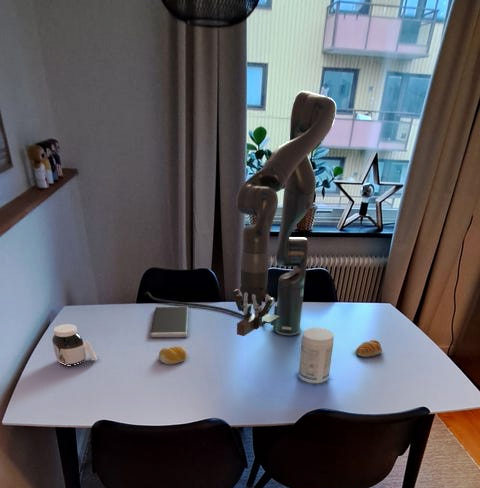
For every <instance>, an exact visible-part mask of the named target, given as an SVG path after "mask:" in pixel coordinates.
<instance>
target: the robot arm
mask: <svg viewBox="0 0 480 488" xmlns="http://www.w3.org/2000/svg"><path fill="white" fill-rule="evenodd" d="M336 115H337V103H336V102H335V101H334V99H332V98H331V97H328V96H325V95H322V94H318V93H314V92H311V91H307V90H301V91H299V92H298V93H297V94H296V95H295V97H294V100H293V102H292V107H291V111H290V118H289V120H290V121H289V138H288V139H289V140H288V141H287V142H285V143H283V144H281V145H280V146H279V147H277V148H276V149H275V150H274V151H273V152H271V154H270V156H269V157H268V158H267V160H266V162H265V163H264V164H263V166H262V167H261V169H259V170H258V171H256V172H255V173H254V174H253V175H252V176H250V177H249V178H248V179H246V181H244V183H243V184H242V185H241V186H240V187H239V189H238V192H237V194H236V198H235V199H236V200H235V202H236V204H235V205H236V207H237V209H238V212H240V213H241V214H244V215H247V216H253V217H257V221H256V224H248V225H246V226H244V227H243V230H242V236H241V237H242V240H241V241H242V243H241V244H242V245H241V254H240V255H241V256H240V284H241V285H240V287H239V288H237V289H234V290H232V292H231V294H232V297H233V300H234V302H235V305H236V307H237V311H235V310H233V309H230V308H225V307H220V306H216V305H209V304H201V303H193V302H185V301H177V300H176V301H174V300H167V299H161V298H156V297H154V296H153V295H152V293H150V292H149V291H146V292H145V293H144V296H147V295H148V297H149V298H150V299H151V300H152V301H155V302H160V303H166V304H174V305H183V306H191V307H201V308H207V309H214V310H219V311H224V312H227V313H231V314H234V315H236V316H239V317H241V318H243V319H245V318H247V317H249V316H250V315H252V314H254V313H255V317H254V329H255V330H258V329H260V327H261V326H262V325H266V324H267V323H262V325H261V318H262V317H263V316H265V315H267V314H268V313H269V312H270V311H271V310H272V307H273V306H274V308H273V309H274V310H273V315H277V316H279V318H278V319H276V320H275V321H273V322H272V323H270V326H272V328H273V329H272V331H274V332H275V333H277V334H279V335H281V336H287V337H289V336H297V335H298V334H300V333H301V322H302V313H303V303H304V302H303V301H304V291H305V281H306V275H307V266H308V260H309V253H310V244H309V240H308V239H307V238H306V237H300V236H299V237H298V236H297V237H294V236H293V237H292V236H291V235H292V232H293V231H294V230H295V228H296V226H297V225H298V224H299V222H301V220H302V219H303V218H304V217H305V216H306V215H307V214H308V212H309V210H311V208H312V205H313V202H314V197H315V193H316V185H317V180H316V174H315V172H314V169H313V166H312V163H311V160H310V157H309V155H310V154H311V153H312V152H313V151H314V149H316V148H317V146H319V145H320V143H321V142H322V141H323V140H324V139H325V138H326V137H327V136H328V134H329V133H330V131H331V129H332V127H333V126H334V122H335V119H336ZM283 188H284V190H283V199H282V211H281V221H280V225H279V231H278V238H277V241H276V248H275V260H276V264H277V266H279V267H280V266H281V267H294V268H293V269H292V270H290V271H288V272H286V273H283V274H281V275H280V276H279V277H278V283H277V284H278V285H277V299H276V298H275V296H274V297H271V296H270V295H269V291H268V288H267V287H268V282H269V265H270V264H269V263H270V257H269V246H270V234H271V229H272V226H273V223H274V218H275V216H276V213H277V211H278V207H279V197H278V192H280V191H281V190H282V189H283ZM275 302H276V304H275ZM274 304H275V305H274ZM252 310H253V311H254V312H253V313H252ZM238 311H239V312H238ZM241 312H242V313H241Z"/></svg>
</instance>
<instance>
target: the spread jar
mask: <svg viewBox="0 0 480 488" xmlns="http://www.w3.org/2000/svg"><path fill="white" fill-rule="evenodd" d="M53 333H54V335H53V336H52V340H51V341H52V346H53V351H54V355H55V358H56V360H57V359H58V360H59V361H60V362H62V363H64V364H66V365H64V364H62V363H60V362H59V361H58V360H57V361H58V363H59V364H60V365H61V366H63V367H66V368H73V367H77V366H80V365H81V364H83V363H84V362H85V361H86V358H87V354H88V356H89V358H90V359H91V361H93V360H95V361H98V358H97V357H98V356H97V355H96V353H95V351H94V349H93V348H92V346H91V344H90V343H89V341H88V340H85V341H84V340H83V338H82V336H81V335H80V334H79V333H78V328H77V326H76V325H74V324H71V323H66V324H64V323H63V324H59V325H56V326H55V327H54V328H53ZM86 352H87V354H86ZM94 354H95V355H94ZM84 360H85V361H84ZM82 361H83V362H82ZM95 361H94V362H95ZM80 362H81V363H80ZM77 363H79V364H77ZM74 364H76V365H74ZM67 365H71V366H67Z"/></svg>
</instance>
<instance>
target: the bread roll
mask: <svg viewBox="0 0 480 488" xmlns="http://www.w3.org/2000/svg"><path fill="white" fill-rule="evenodd" d="M186 358H187V352H186V349H184V348H183V347H181V346H171V347H167V348H166V347H165V348H162V349H161V350H160V351H159V354H158V359H159V360H160V362H162V363H163V364H165V365H174V364H177V363H182V362H184V361H185V360H186Z"/></svg>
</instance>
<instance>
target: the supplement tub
mask: <svg viewBox="0 0 480 488" xmlns="http://www.w3.org/2000/svg"><path fill="white" fill-rule="evenodd" d="M333 348H334V333H333V332H332V331H331V330H329V329H326V328H323V327H310V328H307V329H304V330H303V331H302V335H301V343H300V353H299V366H298V377H299V378H300V379H301V380H302V381H304V382H306V383H309V384H321V383H324V382H326V381H327V380H328V379H329V378H330V370H331V364H332V355H333Z"/></svg>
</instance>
